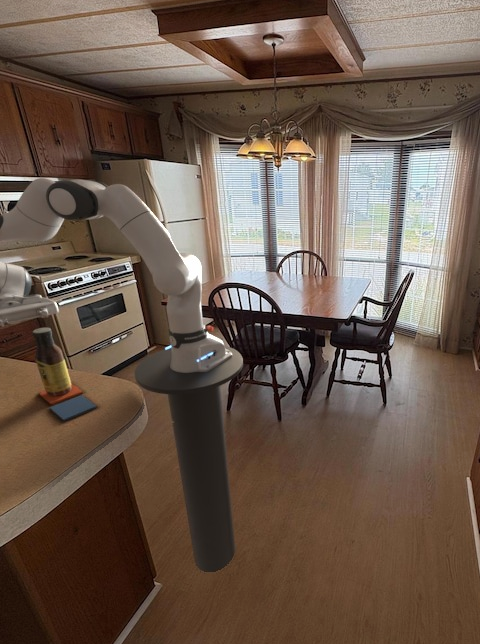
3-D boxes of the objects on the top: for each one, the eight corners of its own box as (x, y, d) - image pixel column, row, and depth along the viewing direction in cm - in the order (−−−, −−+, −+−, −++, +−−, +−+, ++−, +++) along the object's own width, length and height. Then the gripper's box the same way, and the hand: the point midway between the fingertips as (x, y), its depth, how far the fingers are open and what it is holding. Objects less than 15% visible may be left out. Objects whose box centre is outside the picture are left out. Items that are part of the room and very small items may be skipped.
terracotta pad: (70, 383, 106) (69, 381, 106) (83, 393, 102) (82, 391, 101) (38, 394, 100) (38, 392, 100) (51, 405, 95) (50, 403, 95)
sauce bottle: (45, 390, 101) (25, 328, 93) (71, 384, 105) (54, 323, 97) (47, 400, 96) (26, 335, 89) (74, 393, 100) (56, 330, 93)
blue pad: (82, 396, 100) (81, 395, 100) (97, 407, 95) (96, 405, 95) (50, 409, 94) (49, 407, 93) (63, 421, 89) (63, 419, 89)
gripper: (-41, 307, 97) (-27, 318, 90) (45, 293, 113) (62, 301, 106) (-33, 328, 100) (-19, 340, 92) (50, 311, 115) (68, 320, 108)
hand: (25, 319), depth 99 cm, fingers open, 8 cm apart
